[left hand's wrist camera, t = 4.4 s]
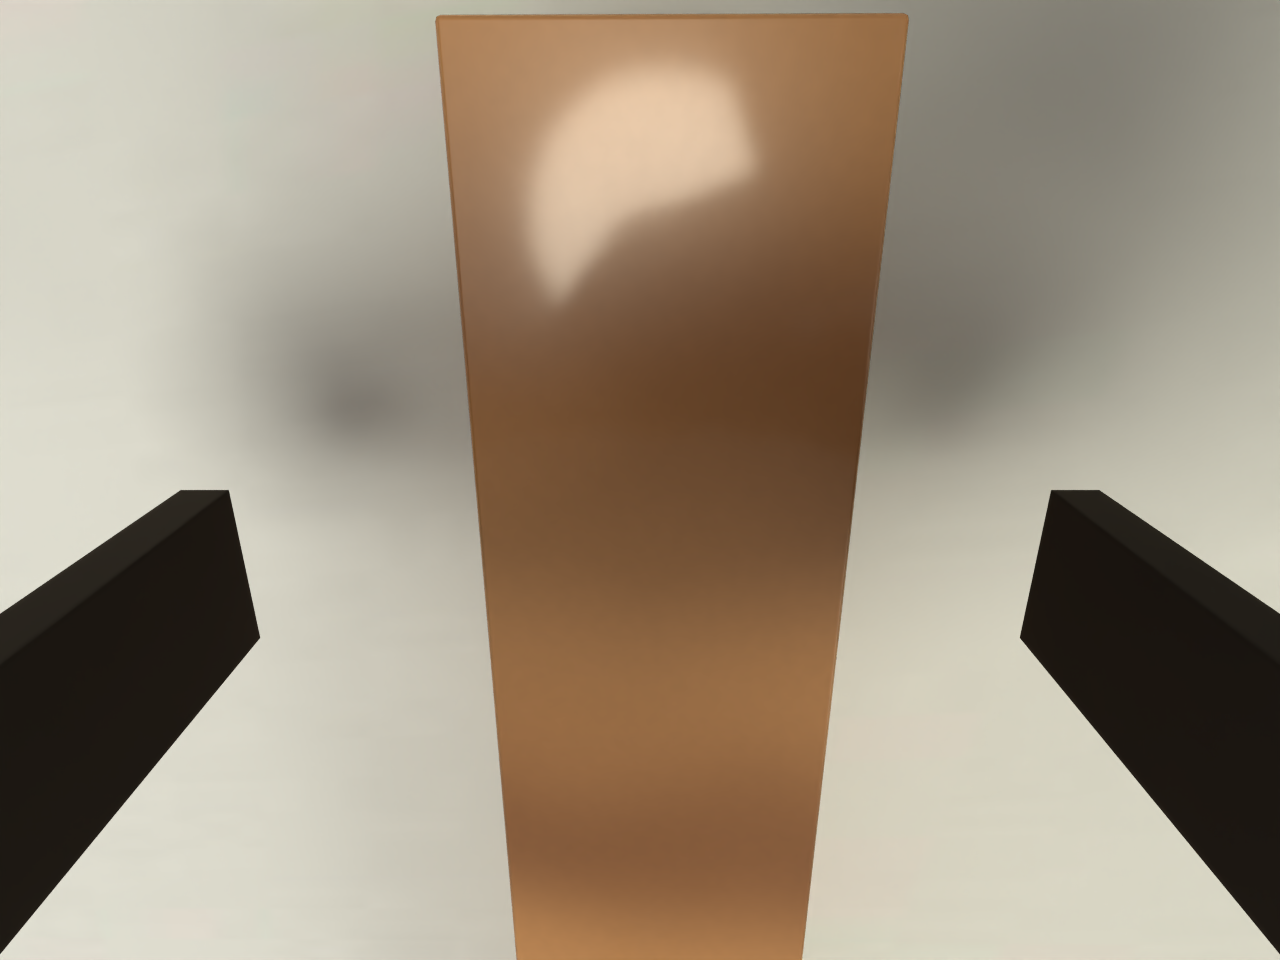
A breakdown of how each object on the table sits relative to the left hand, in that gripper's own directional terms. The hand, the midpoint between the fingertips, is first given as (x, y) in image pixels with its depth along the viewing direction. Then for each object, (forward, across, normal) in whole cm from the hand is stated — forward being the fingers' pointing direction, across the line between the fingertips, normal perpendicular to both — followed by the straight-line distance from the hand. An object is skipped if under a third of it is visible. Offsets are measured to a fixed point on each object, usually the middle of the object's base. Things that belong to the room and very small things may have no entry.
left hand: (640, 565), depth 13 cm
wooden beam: (+8, 0, -24) cm, 25 cm away
